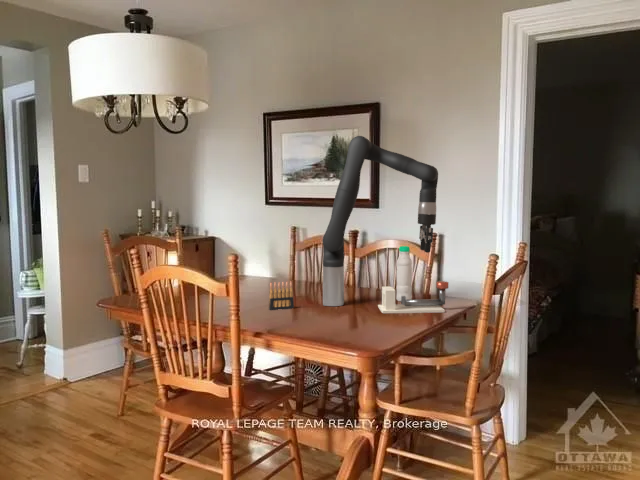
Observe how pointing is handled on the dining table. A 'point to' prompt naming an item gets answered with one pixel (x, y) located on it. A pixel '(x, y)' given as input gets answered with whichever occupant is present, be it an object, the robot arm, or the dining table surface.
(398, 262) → the water bottle
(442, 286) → the ball knob lever
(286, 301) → the ammunition clip
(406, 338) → the dining table surface
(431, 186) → the robot arm
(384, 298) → the cream l-shaped stand
